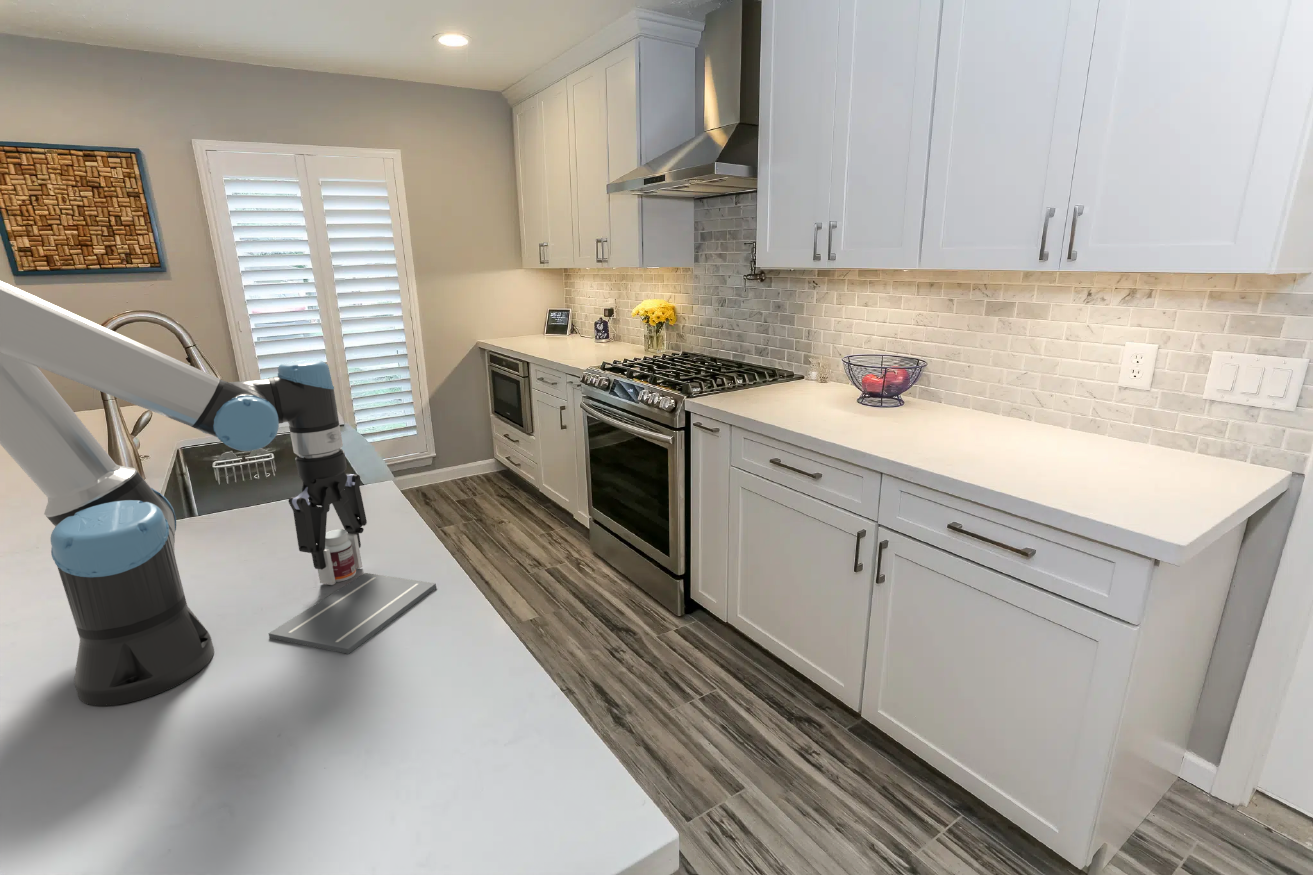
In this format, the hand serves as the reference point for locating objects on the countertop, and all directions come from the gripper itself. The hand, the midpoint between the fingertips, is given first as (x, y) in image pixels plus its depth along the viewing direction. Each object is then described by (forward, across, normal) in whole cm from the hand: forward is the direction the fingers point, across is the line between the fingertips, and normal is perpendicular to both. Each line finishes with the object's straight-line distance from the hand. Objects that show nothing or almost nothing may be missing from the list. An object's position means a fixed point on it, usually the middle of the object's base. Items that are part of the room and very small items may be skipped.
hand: (341, 574), depth 115 cm
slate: (0, -9, -12) cm, 15 cm away
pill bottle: (+1, 0, 0) cm, 1 cm away
